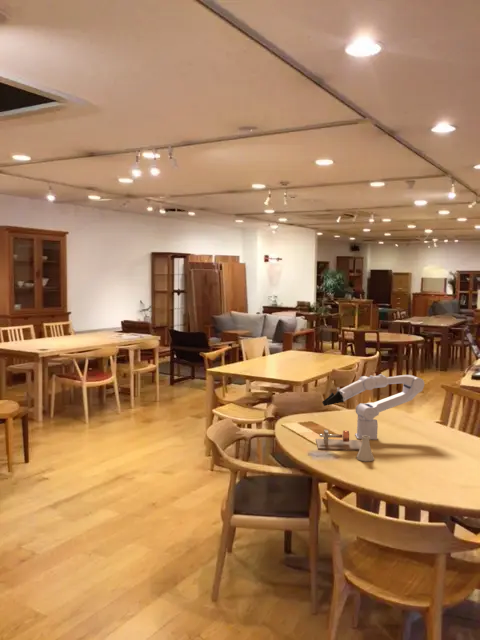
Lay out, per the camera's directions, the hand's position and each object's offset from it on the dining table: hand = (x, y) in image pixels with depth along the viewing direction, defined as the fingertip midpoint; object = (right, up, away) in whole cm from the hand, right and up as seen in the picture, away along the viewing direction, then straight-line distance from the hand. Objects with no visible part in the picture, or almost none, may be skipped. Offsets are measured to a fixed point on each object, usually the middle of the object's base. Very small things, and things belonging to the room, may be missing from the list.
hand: (325, 403), depth 273 cm
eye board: (+6, -18, -8) cm, 21 cm away
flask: (+13, -20, -26) cm, 36 cm away
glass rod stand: (+3, -16, -8) cm, 18 cm away
